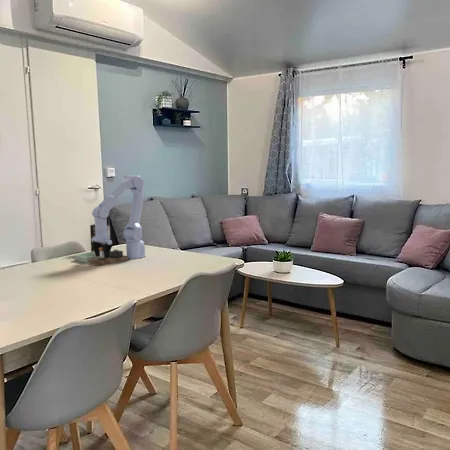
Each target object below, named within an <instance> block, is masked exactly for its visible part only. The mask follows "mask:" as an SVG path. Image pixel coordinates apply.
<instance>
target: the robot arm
mask: <svg viewBox="0 0 450 450" xmlns="http://www.w3.org/2000/svg"><path fill="white" fill-rule="evenodd" d="M144 182H145V180H144V179H143V178H142V176H141V175H139V174H138V175H137V174H136V175H135V174H133V175H132V174H126V175H124V177H123V178H122V179H120V182H119V184H118V185H117V187H116V188H115V189H114V190H113V192H112V193H111V195H109V194H108V195H107V196H105V197H104V199H103V200H102V202H100V203H99V204H98V206H95V207H94V208H93V210H92V212H91V214H92V216H93V218H94V224H95V235H96V237H94V238H92V242H93V243H91V242H90V246H91V245H92V247H93V249H94V252H95V255H96V256H100V250H99V247H101V246H102V248H103V251H104V258H109V254H110V251H112V250H111V249H112V248H113V246H114V244H113V241H112V240H111V239H110V240H109V239H107V225H108V224H107V223H108V222H107V218H108V217H109V215H110V211H111V210H112V209H113V207H114V206H115V205H116V204H117V199H119V197H120V196H121V195H122V194H124V192H125V191H127V190H130V191H131V192H132V194H133V196H132V202H131V207H130V208H131V209H130V214H129V222H128V223H127V224H126V225H125V228H124V229H123V232H122V235H123V238H124V240H125V245H126V246H125V249H126V256H128V260H134V259H135V260H137V259H140V258H145V257H147V256H146V251H145V245H146V244H145V242H144V241H143V231H142V230H143V228H142V226H141V224H140V222H141V216H142V211H143V205H144V199H145V198H144V197H145V187H144ZM102 243H104V244H103V245H101V244H102Z"/></svg>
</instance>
